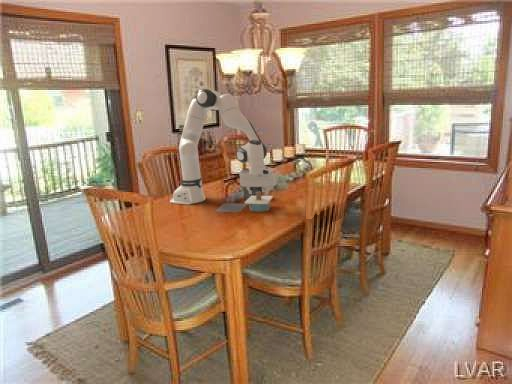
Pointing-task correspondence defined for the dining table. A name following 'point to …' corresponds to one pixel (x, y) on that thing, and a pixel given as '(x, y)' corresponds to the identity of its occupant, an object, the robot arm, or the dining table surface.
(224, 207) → the mat
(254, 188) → the small box
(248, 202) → the cover sheet
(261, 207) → the bowl
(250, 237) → the dining table surface
